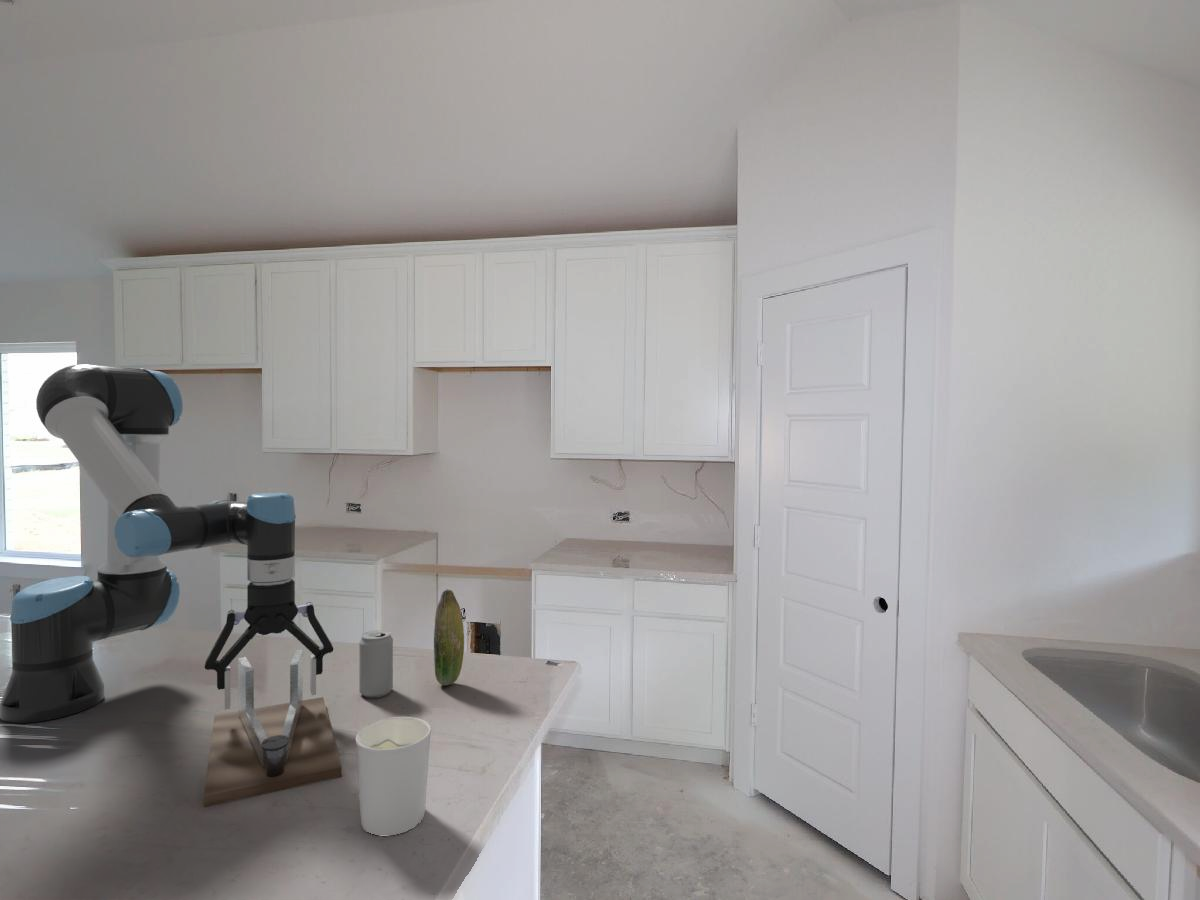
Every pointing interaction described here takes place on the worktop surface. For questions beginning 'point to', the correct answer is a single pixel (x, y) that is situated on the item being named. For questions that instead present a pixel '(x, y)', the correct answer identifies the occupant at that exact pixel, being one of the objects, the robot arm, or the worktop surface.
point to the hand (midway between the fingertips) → (271, 699)
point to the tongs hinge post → (275, 754)
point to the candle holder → (392, 774)
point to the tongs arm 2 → (293, 700)
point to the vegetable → (448, 639)
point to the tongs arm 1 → (249, 708)
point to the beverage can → (376, 663)
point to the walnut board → (240, 767)
